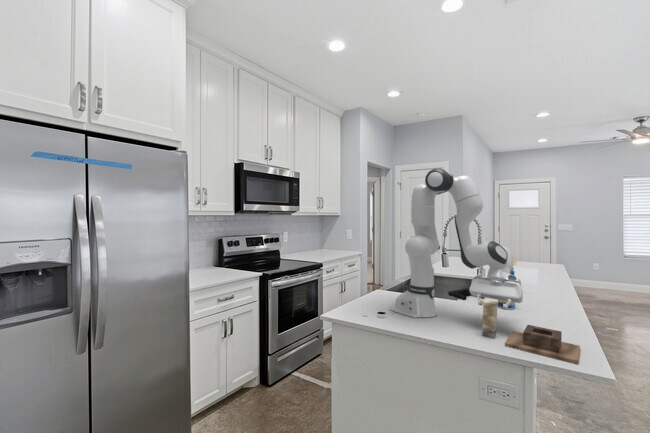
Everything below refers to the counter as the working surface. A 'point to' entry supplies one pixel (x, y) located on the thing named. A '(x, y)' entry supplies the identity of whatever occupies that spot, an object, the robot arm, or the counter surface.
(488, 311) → the upright wooden square peg
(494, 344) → the counter surface
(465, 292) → the door handle
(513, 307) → the beverage bottle
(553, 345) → the square hole base plate
